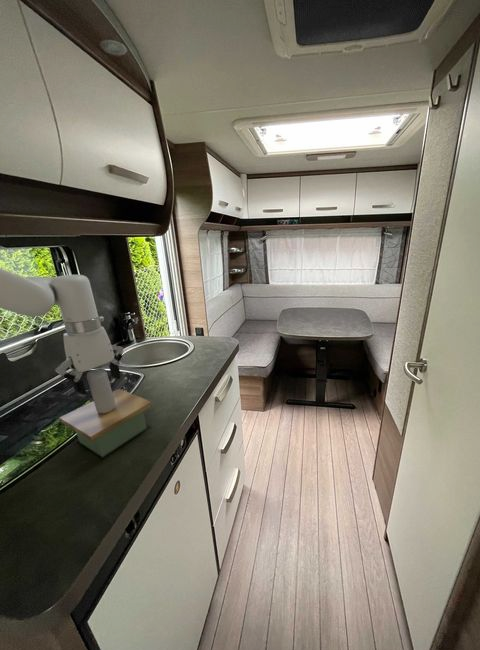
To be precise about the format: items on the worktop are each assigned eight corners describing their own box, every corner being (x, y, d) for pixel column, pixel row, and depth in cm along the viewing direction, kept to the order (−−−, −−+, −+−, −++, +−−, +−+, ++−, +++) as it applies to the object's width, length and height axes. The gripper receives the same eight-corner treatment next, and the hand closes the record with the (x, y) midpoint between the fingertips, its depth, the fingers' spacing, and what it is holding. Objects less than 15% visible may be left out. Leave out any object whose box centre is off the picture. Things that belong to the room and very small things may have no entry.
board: (60, 422, 77) (58, 417, 77) (120, 392, 91) (119, 388, 91) (92, 441, 69) (90, 436, 69) (152, 406, 83) (151, 401, 83)
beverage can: (99, 406, 81) (88, 369, 77) (117, 403, 82) (107, 367, 78) (95, 416, 77) (83, 377, 72) (114, 412, 78) (104, 374, 74)
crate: (79, 443, 81) (71, 420, 78) (123, 417, 92) (118, 396, 89) (103, 458, 75) (95, 434, 72) (147, 429, 86) (142, 407, 83)
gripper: (107, 315, 79) (120, 369, 85) (36, 333, 65) (58, 395, 72) (123, 319, 75) (135, 375, 82) (52, 338, 62) (73, 403, 68)
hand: (99, 384), depth 77 cm, fingers open, 9 cm apart
